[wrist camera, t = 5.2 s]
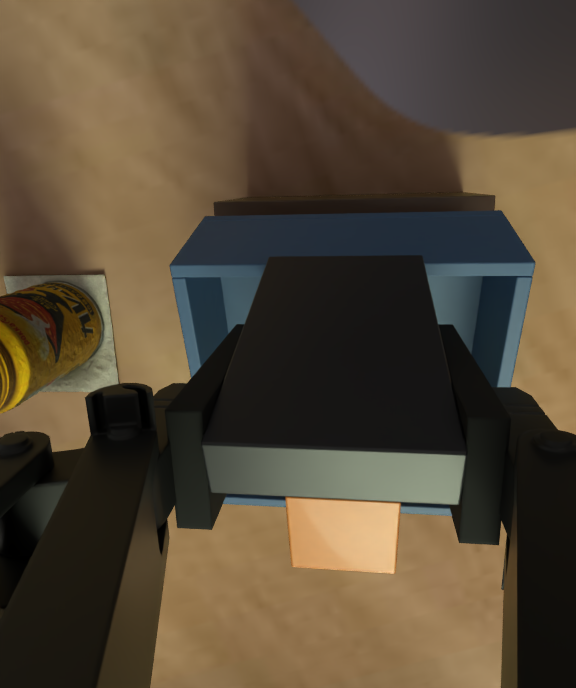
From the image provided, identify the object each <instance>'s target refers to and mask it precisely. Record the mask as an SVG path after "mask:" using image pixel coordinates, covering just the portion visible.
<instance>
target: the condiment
mask: <svg viewBox="0 0 576 688" xmlns="http://www.w3.org/2000/svg"><path fill="white" fill-rule="evenodd" d="M4 281H5V286H6V291H7V294H6V295H4V296H1V297H0V413H4V412H6V411H8V410H11V409H13V408H14V407H16V406H18V405H20V404H21V403H23V402H24V401H26V400H27V399H29V398H30V397H32V396H33V395H35V394H37V393H38V392H39V391H41V392H46V391H47V392H49V391H51V392H60V391H66V392H79V391H82V392H93V391H95V390H97V389H99V388H103V387H106V386H110V385H115V384H119V382H118V373H117V368H116V359H115V352H114V342H113V331H112V324H111V317H110V309H109V300H108V295H107V286H106V280H105V277H104V275H40V276H4Z"/></svg>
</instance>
